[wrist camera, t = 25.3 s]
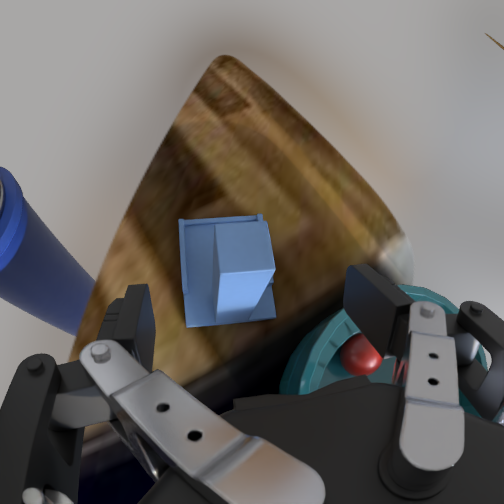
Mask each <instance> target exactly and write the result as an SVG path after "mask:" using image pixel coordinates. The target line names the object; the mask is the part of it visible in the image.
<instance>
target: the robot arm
mask: <svg viewBox="0 0 504 504" xmlns="http://www.w3.org/2000/svg"><path fill="white" fill-rule="evenodd" d="M5 201H6V191H5V187H4V184H3V182H2V181H1V180H0V219H1V217H2V214H3V211H4V207H5ZM343 305H344V310H345V312H346V314H347V315H348V316H349V317H350V318H351V320H352V321H353V322H354V323H355V325H356V326H357V327H358V328H359V330H360V331H361V332H362V333H363V335H364V336H365V337H366V338H367V340H368V341H369V342H370V343H371V345H372V346H373V347H374V348H375V350H376V351H377V352H378V353H379V355H380V356H381V357H382V359H383V360H384V359H387V358H391V357H395V356H396V361H395V364H394V370H393V375H392V381H391V384H387V383H371V382H370V380H369V379H368V377H367V376H366V374H364V375H360V376H356V377H352V378H348V379H344V380H339V381H336V382H333V383H331V384H329V385H327V386H325V387H322V388H320V389H318V390H316V391H313V392H311V393H309V394H303V395H284V394H266V395H260V396H253V397H245V398H238V399H233V404H234V409H233V410H231V411H228V412H226V413H223V414H221V415H219V416H218V415H217V414H216V413H214V412H213V411H212V410H210V409H209V408H208V407H206V406H205V405H204V404H202V403H201V402H200V401H198V400H197V399H196V398H195V397H193V396H192V395H191V394H190V393H188V392H187V391H186V390H185V389H183V388H182V387H181V386H180V385H178V384H177V383H176V382H175V381H174V380H172V379H171V378H170V377H169V376H168V375H166V374H165V373H164V372H163V371H161V370H159V369H157V370H155V371H153V372H152V365H153V354H154V344H155V334H156V330H155V320H154V314H153V309H152V303H151V298H150V292H149V287H148V284H137V285H128V288H127V291H126V294H125V297H124V298H117V299H115V300H114V301H113V302H112V303H111V304H110V305H109V306H108V309H107V312H106V315H105V317H104V320H103V321H104V322H103V323H102V325H101V328H100V331H99V334H98V337H97V339H96V341H94V342H92V343H90V344H88V345H87V346H85V347H84V348H83V349H82V351H81V352H80V356H79V358H80V359H79V360H77V361H73V362H69V363H65V364H61V365H57V364H56V362H55V360H54V358H53V357H52V356H50V355H48V354H35V355H32V356H30V357H28V358H26V359H25V360H23V361H22V362H21V363H20V365H19V366H18V368H17V370H16V373H15V375H14V377H13V379H12V382H11V384H10V386H9V389H8V391H7V394H6V396H5V399H4V401H3V404H2V406H1V409H0V504H77V498H78V483H79V472H80V461H81V452H82V444H83V436H84V429H85V426H89V425H93V424H97V423H101V422H105V421H107V423H108V424H109V425H110V426H111V428H112V429H113V430H114V431H115V433H116V434H117V435H118V436H119V438H120V439H121V440H122V441H123V443H124V444H125V445H126V446H127V447H128V448H129V450H130V451H131V452H132V453H133V454H134V455H135V457H136V458H137V459H138V460H139V462H140V463H141V465H142V466H143V468H144V469H145V470H146V472H147V473H148V474H149V475H150V476H151V478H152V479H153V480H154V481H155V482H156V483H155V484H154V486H153V487H152V488H151V489H150V490H149V491H148V492H147V494H146V495H145V496H144V497H143V498H142V499H141V500H140V501H139V503H138V504H504V321H503V320H502V319H501V318H499V317H498V316H497V315H496V314H495V313H493V312H492V311H491V310H490V309H488V308H487V307H486V306H484V305H482V304H480V303H478V302H473V301H466V302H463V303H462V304H461V305H460V309H459V312H458V314H445V311H444V310H443V308H441V307H440V306H439V305H437V304H435V303H432V302H428V301H417V302H416V301H415V300H414V299H412V298H411V297H410V296H409V295H408V294H406V293H405V292H404V291H403V290H401V289H400V288H399V287H398V286H397V285H395V283H393V282H392V281H391V280H390V279H389V278H387V277H385V276H382V275H380V274H378V273H377V272H376V271H375V270H374V269H372V268H371V267H370V266H369V265H367V264H358V265H350V266H349V267H348V268H347V272H346V281H345V289H344V297H343ZM480 344H481V345H482V346H483V347H484V348H485V349H486V350H487V351H488V352H489V353H490V354H491V358H492V363H491V366H490V368H489V371H487V370H486V369H485V368H484V367H483V366H482V365H481V364H480V363H479V362H478V361H477V360H476V359H475V356H476V353H477V351H478V348H479V346H480ZM458 388H459V389H460V391H461V392H462V393H463V394H464V396H465V397H466V398H467V399H468V401H469V402H470V403H471V404H472V406H473V407H474V408H475V409H476V411H477V412H478V413H479V415H480V416H481V417H482V418H481V417H478V416H475V415H472V414H470V413H467V412H464V409H463V407H461V406H460V405H459V391H458Z"/></svg>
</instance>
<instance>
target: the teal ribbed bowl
mask: <svg viewBox="0 0 504 504" xmlns="http://www.w3.org/2000/svg"><path fill="white" fill-rule="evenodd" d="M397 286H398V287H399V288H400V289H401V290H403V291H404V292H405V293H406V294H408V295H409V296H410V297H411V298H412V299H414V300H415V301H416V302H417V301H428V302H432V303H435V304H437V305H439V306H440V307H441V308H443V310H444V311H445V314H458V312H459V309H458V308H457V307H456V306H455V305H454V304H452V303H451V302H450V301H449V300H448V299H447V298H445V297H443V296H441V295H439V294H437V293H435V292H433V291H431V290H429V289H427V288H424V287H416V286H410V285H404V284H402V285H397ZM359 333H362V332H361V331H360V330H359V328H358V327H357V326H356V325H355V323H354V322H353V321H352V320H351V318H350V317H349V316H348V315H347V314H346V312H345V310H344V307H342V308H341V309H339V310H338V311H336V312H335V313H333V314H332V315H330V316H329V317H327V318H326V319H324V320H323V321H322V322H321V323H320V324H318V325H317V326H316V327H315V328H314V329H312V330H311V331H310V332H309V333H308V334H306V336H305V337H304V338H303V339H302V341H301V342H300V344H299V345H298V346H297V348H296V349H295V351H294V352H293V353H292V355H291V356H290V358H289V361H288V364H287V366H286V369H285V371H284V374H283V376H282V379H281V383H280V388H279V394H284V395H303V394H309V393H311V392H313V391H316V390H318V389H320V388H322V387H325V386H327V385H329V384H331V383H333V382H336V381H339V380H344V379H348V378H352V377H356V376H354V375H351V374H350V373H348V372H347V371H346V370H345V369H344V368H343V366H342V364H341V360H340V352H341V348H342V346H343V344H344V343H345V341H346V340H348V339H349V338H350V337H351V336H353V335H355V334H359ZM475 359H476V360H477V361H478V362H479V363H480V364H481V365H482V366H483V367H484V368H485V369H486V370H487V371H488V369H487V362H486V357H485V353H484V350H483V348H482V345H481V344H480V346H479V348H478V351H477V353H476V356H475ZM395 361H396V356H395V357H391V358H387V359H384V360H382V363H381V365H380V366H379V368H378V369H377V370H376V371H375V372H374V373H372V374H370V375H368V376H367V377H368V379H369V380H370V382H371V383H387V384H391V381H392V375H393V370H394V364H395ZM458 391H459V405H460V406H461V407H463V409H464V412H467V413H470V414H472V415H475V416H478V417H481V416H480V415H479V413H478V412H477V411H476V409H475V408H474V407H473V406H472V404H471V403H470V402H469V401H468V399H467V398H466V397H465V396H464V394H463V393H462V392H461V391H460V389H459V388H458ZM481 418H482V417H481Z"/></svg>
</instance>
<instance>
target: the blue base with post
mask: <svg viewBox="0 0 504 504" xmlns="http://www.w3.org/2000/svg"><path fill="white" fill-rule="evenodd" d="M179 239H180V259H181V275H182V290H183V294H184V306H185V318H186V326H187V328H189V327H201V326H212V325H223V324H233V323H242V322H252V321H260V320H269V319H275V318H276V310H275V304H274V298H273V292H272V285H273V283H274V281H273V273H274V271H275V269H276V268H275V263H274V257H273V251H272V246H271V240H270V234H269V229H268V223H267V221H263V216H262V214H257V215H254V216H237V217H222V218H207V219H193V220H184V219H179Z"/></svg>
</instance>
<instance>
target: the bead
mask: <svg viewBox="0 0 504 504" xmlns="http://www.w3.org/2000/svg"><path fill="white" fill-rule="evenodd" d="M340 360H341V364H342V366H343V368H344V369H345V370H346V371H347V372H348V373H350V374H351V375H354V376H360V375H364V374H366V376H368V375H370V374H372V373H374V372H375V371H376V370H377V369H378V368H379V366H380V365H381V363H382V360H383V359H382V357H381V356H380V355H379V353H378V352H377V351H376V350H375V348H374V347H373V346H372V345H371V343H370V342H369V341H368V340H367V338H366V337H365V336H364V335H363V333H359V334H355V335H353V336H351V337H350V338H349V339H348V340H346V341H345V343H344V344H343V346H342V348H341V352H340Z"/></svg>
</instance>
